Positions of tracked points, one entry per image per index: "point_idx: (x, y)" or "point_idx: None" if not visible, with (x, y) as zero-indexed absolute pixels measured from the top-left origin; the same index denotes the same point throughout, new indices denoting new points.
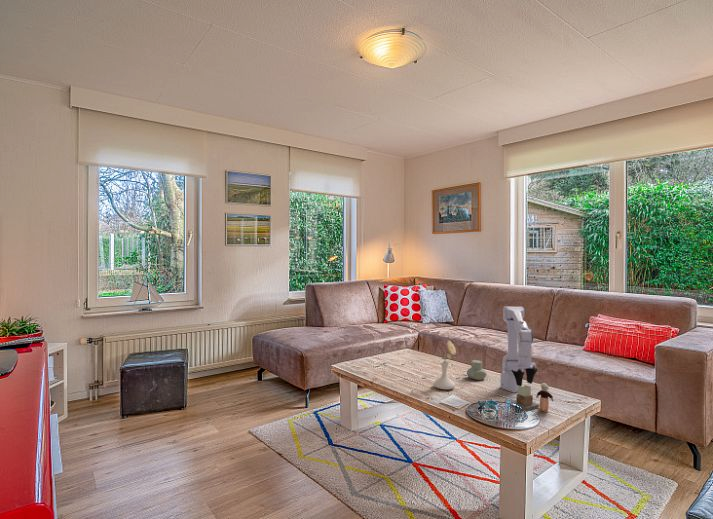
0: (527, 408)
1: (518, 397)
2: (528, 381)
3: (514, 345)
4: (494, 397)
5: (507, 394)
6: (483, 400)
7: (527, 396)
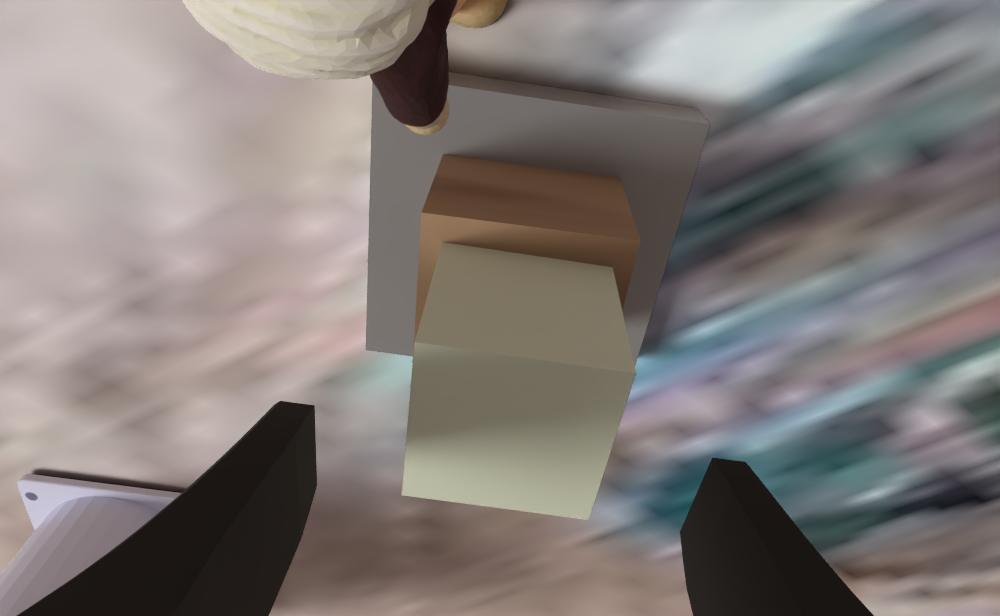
0: (681, 116)
1: None
2: (306, 489)
3: None
4: (524, 540)
5: (316, 509)
6: None
7: (567, 244)
